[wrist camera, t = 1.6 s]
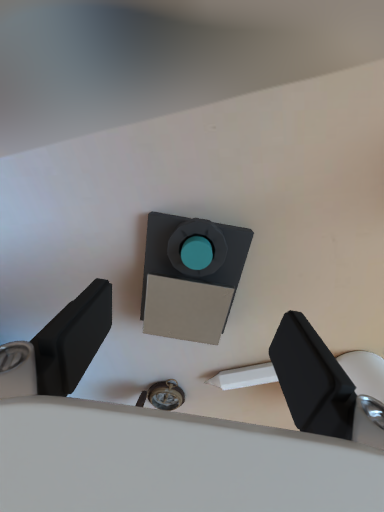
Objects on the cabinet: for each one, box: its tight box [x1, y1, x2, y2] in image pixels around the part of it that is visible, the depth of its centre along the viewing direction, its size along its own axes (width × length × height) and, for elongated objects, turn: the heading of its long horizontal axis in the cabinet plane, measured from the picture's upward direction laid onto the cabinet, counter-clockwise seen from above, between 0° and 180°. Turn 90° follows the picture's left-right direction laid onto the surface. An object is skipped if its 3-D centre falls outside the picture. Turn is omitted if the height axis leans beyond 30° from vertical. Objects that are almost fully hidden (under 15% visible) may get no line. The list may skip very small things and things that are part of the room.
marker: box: [204, 362, 279, 390], centre depth 29 cm, size 3×2×16 cm
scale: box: [140, 212, 254, 334], centre depth 22 cm, size 14×11×3 cm
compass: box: [136, 379, 185, 411], centre depth 29 cm, size 8×8×7 cm
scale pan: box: [143, 272, 235, 345], centre depth 22 cm, size 8×9×1 cm
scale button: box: [181, 236, 213, 270], centre depth 19 cm, size 3×3×2 cm
